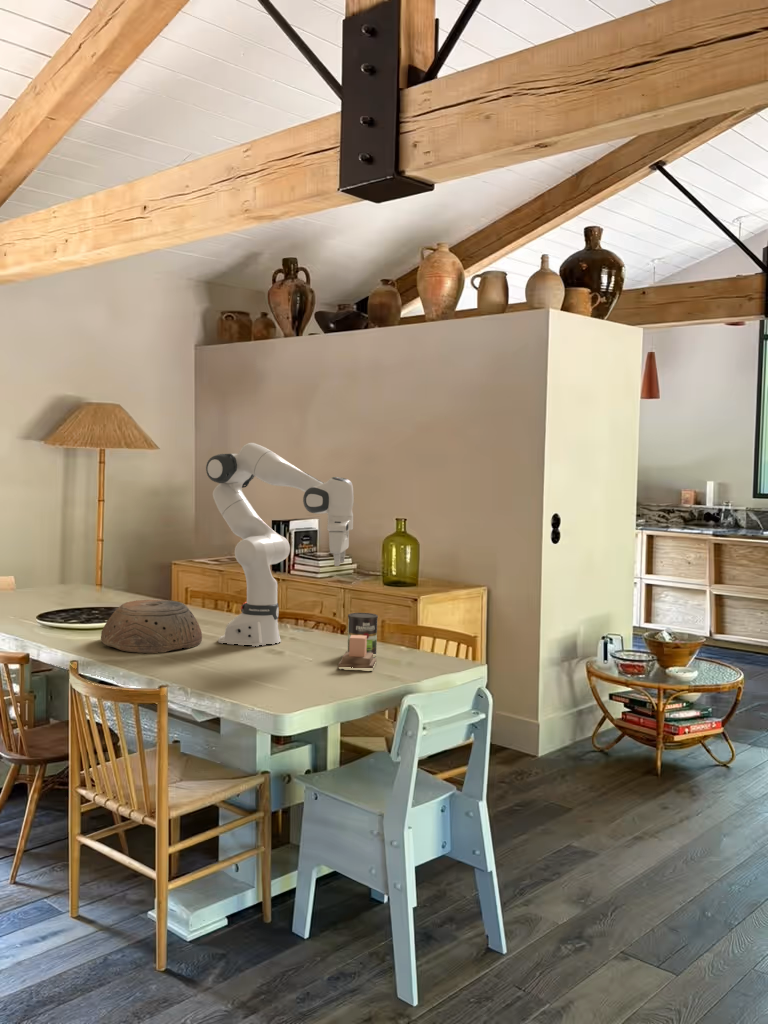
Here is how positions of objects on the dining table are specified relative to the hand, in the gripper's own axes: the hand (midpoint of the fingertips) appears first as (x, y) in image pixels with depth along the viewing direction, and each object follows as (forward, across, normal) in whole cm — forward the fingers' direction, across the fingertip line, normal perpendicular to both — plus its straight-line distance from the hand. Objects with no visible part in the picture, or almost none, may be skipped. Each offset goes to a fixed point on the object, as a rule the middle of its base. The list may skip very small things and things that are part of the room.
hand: (339, 564), depth 320 cm
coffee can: (+31, +2, +9) cm, 33 cm away
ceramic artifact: (+32, -1, -67) cm, 74 cm away
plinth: (+31, +20, +10) cm, 38 cm away
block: (+27, +20, +10) cm, 35 cm away
